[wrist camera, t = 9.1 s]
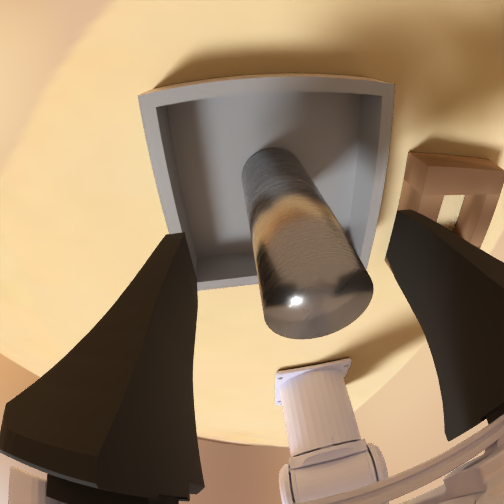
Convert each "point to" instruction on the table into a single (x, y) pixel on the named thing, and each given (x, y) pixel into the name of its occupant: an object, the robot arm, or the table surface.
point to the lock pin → (300, 250)
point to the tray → (255, 139)
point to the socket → (453, 190)
